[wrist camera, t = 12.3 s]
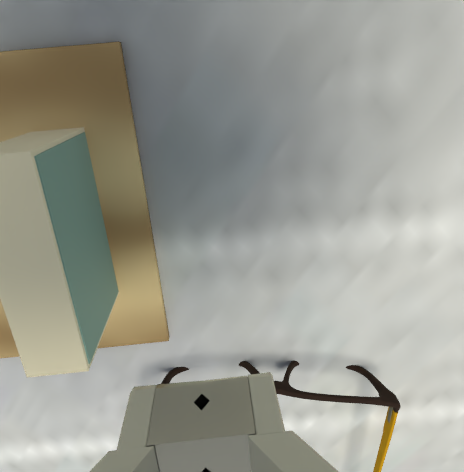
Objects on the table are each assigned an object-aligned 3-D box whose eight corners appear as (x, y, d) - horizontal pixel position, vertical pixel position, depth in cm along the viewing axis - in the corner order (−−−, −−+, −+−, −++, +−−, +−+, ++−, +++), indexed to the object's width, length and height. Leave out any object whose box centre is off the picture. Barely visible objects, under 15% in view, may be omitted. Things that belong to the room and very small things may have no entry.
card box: (30, 131, 19) (-48, 158, 13) (85, 127, 19) (32, 151, 13) (73, 297, 23) (26, 377, 17) (120, 292, 23) (89, 370, 17)
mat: (-174, 66, 18) (-182, 66, 18) (120, 42, 18) (119, 41, 18) (-51, 359, 24) (-55, 363, 24) (169, 336, 24) (168, 340, 24)
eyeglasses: (378, 349, 26) (406, 394, 23) (346, 502, 32) (365, 559, 28) (155, 350, 25) (146, 398, 22) (160, 508, 31) (154, 568, 27)
